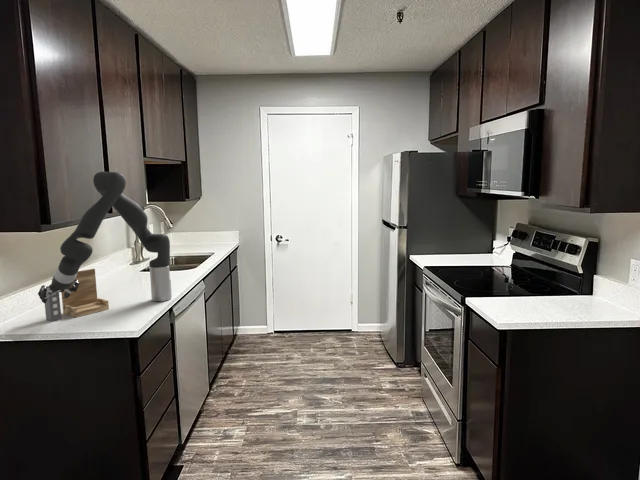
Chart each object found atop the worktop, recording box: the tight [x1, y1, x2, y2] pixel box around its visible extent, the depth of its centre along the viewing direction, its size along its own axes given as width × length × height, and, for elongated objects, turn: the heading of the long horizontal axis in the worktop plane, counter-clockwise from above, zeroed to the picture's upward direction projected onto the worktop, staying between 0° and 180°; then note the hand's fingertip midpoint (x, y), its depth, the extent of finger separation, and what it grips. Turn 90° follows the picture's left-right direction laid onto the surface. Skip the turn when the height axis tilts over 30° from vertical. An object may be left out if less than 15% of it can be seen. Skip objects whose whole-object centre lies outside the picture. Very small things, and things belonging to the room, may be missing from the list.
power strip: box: [44, 291, 62, 323], centre depth 180 cm, size 5×4×13 cm
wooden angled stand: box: [60, 268, 110, 318], centre depth 191 cm, size 11×15×18 cm
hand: (54, 299), depth 178 cm, fingers open, 8 cm apart
